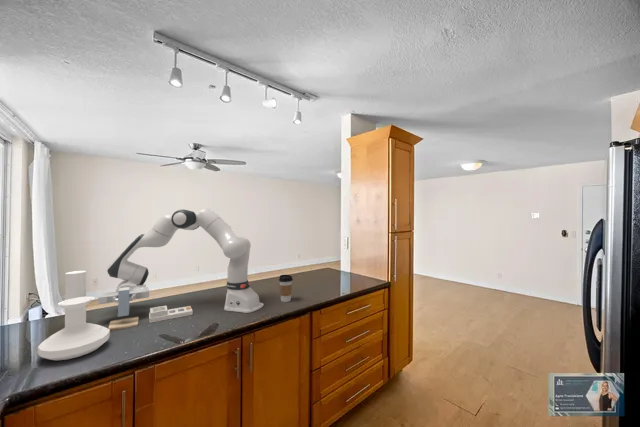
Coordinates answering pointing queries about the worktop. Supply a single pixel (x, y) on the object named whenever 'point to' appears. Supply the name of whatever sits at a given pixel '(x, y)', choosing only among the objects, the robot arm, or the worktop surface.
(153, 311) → the power strip
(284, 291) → the coffee cup
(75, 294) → the cylindrical container
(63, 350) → the candle holder
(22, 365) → the worktop surface
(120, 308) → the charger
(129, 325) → the oak pad
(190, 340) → the worktop surface
